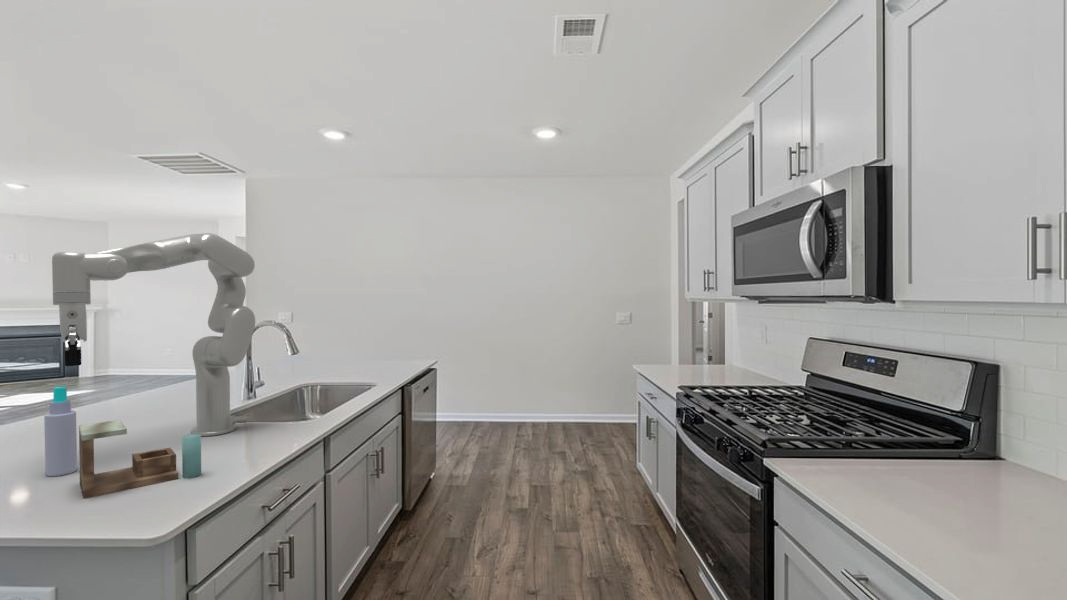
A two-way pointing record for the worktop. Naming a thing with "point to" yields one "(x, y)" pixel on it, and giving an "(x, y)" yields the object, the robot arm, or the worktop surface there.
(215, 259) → the robot arm
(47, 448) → the spray bottle
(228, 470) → the worktop surface
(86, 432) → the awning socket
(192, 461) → the peg
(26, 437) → the worktop surface
